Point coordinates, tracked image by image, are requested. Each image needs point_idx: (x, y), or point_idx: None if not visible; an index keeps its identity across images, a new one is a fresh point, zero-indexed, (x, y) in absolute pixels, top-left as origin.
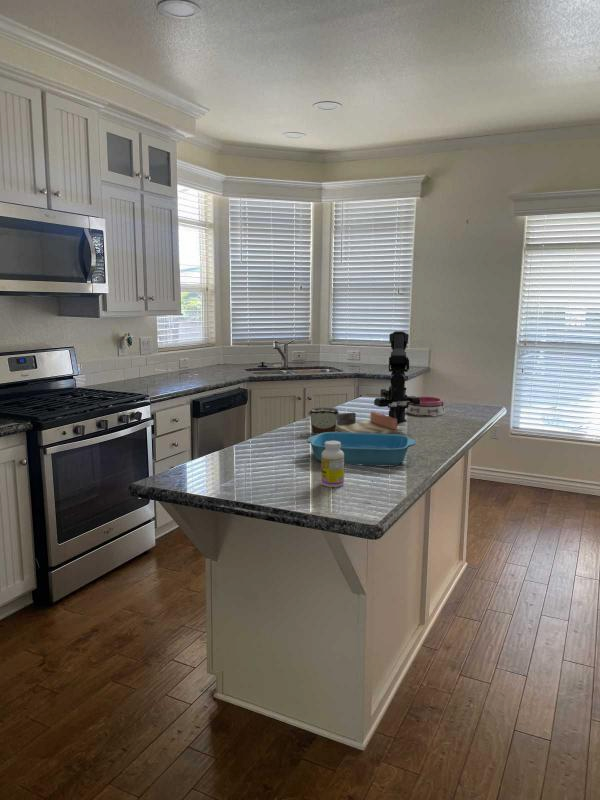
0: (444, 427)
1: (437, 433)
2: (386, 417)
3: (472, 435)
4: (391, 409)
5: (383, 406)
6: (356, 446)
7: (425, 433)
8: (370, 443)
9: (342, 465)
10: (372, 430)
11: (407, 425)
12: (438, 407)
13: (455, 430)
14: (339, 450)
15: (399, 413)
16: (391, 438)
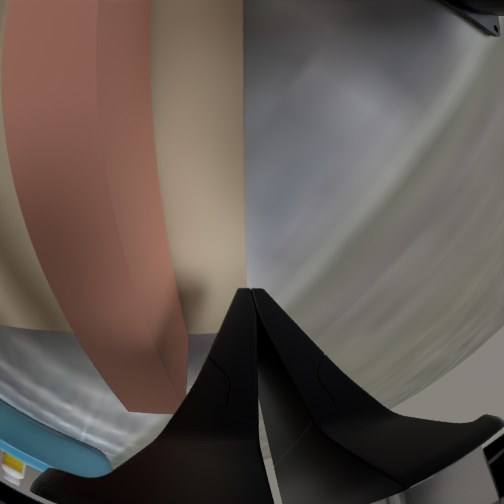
0: (496, 274)
1: (385, 363)
2: (84, 343)
3: (427, 386)
4: (168, 435)
5: (19, 494)
6: (6, 414)
7: (345, 358)
8: (34, 437)
9: (25, 467)
10: (11, 298)
11: (442, 123)
12: None
13: (468, 329)
14: (19, 479)
15: (266, 423)
16: (82, 471)
